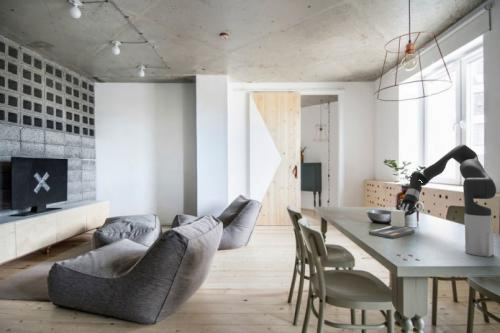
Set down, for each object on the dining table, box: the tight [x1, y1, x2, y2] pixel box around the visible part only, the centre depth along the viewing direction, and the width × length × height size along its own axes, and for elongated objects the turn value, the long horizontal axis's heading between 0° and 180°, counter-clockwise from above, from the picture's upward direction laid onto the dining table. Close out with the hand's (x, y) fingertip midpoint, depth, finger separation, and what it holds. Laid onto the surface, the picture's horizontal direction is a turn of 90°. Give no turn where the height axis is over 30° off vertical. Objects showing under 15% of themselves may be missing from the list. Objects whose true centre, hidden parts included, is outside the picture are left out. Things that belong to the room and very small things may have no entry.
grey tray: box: [368, 225, 416, 239], centre depth 165 cm, size 14×24×2 cm, turn 125°
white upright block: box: [390, 209, 406, 229], centre depth 169 cm, size 6×5×11 cm
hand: (401, 219), depth 172 cm, fingers closed
